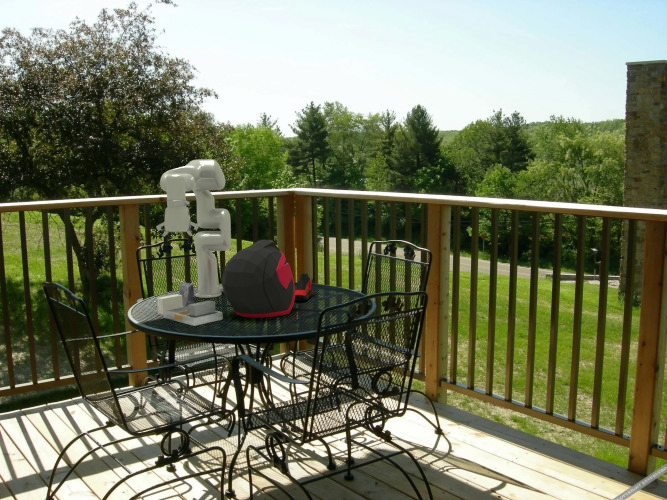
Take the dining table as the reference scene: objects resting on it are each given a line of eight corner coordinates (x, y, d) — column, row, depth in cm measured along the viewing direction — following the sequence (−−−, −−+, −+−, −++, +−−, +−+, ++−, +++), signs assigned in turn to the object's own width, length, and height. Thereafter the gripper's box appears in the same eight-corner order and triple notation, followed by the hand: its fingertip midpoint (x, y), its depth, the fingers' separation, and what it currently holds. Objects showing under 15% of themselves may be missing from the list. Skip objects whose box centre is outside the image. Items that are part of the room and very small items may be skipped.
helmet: (311, 287, 288) (292, 230, 273) (275, 333, 266) (252, 274, 251) (263, 282, 302) (243, 228, 287) (225, 326, 280) (201, 269, 265)
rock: (198, 305, 294) (196, 283, 293) (187, 307, 290) (186, 285, 289) (184, 302, 301) (183, 281, 300) (174, 305, 297) (173, 282, 296)
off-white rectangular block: (158, 313, 280) (157, 297, 280) (177, 309, 288) (176, 294, 287) (163, 314, 278) (162, 298, 277) (182, 310, 285) (182, 295, 284)
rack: (163, 317, 272) (162, 300, 271) (191, 311, 282) (190, 294, 281) (193, 326, 257) (193, 307, 256) (222, 319, 268) (221, 301, 267)
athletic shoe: (289, 303, 297) (288, 277, 296) (299, 294, 317) (299, 270, 316) (305, 303, 296) (304, 277, 294) (314, 294, 316) (314, 270, 314)
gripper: (199, 203, 270) (201, 244, 273) (157, 204, 270) (159, 245, 272) (196, 204, 263) (197, 246, 265) (153, 205, 262) (155, 247, 265)
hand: (178, 245), depth 269 cm, fingers open, 9 cm apart
